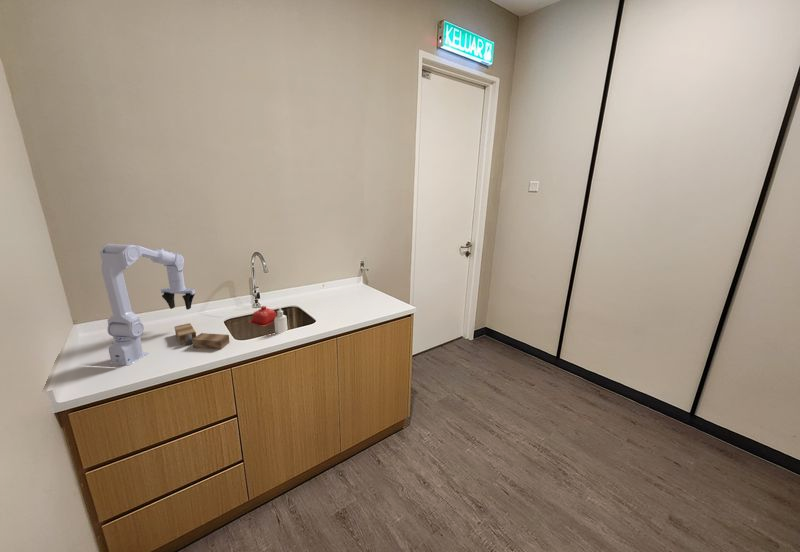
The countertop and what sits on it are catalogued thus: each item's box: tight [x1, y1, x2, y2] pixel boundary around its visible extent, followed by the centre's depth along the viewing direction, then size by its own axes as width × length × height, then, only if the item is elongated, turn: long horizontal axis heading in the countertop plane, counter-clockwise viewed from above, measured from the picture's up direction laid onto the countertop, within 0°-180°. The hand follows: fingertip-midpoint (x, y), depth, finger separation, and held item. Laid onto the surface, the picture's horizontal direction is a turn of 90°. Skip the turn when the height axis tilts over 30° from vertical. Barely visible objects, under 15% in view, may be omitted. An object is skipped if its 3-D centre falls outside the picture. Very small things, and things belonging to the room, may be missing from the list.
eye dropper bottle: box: [273, 307, 288, 334], centre depth 152 cm, size 4×6×12 cm
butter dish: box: [248, 305, 278, 327], centre depth 164 cm, size 12×12×8 cm
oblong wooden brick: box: [192, 332, 230, 350], centre depth 139 cm, size 12×6×4 cm, turn 86°
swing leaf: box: [174, 323, 197, 346], centre depth 144 cm, size 15×6×4 cm, turn 41°
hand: (180, 308), depth 153 cm, fingers open, 7 cm apart
